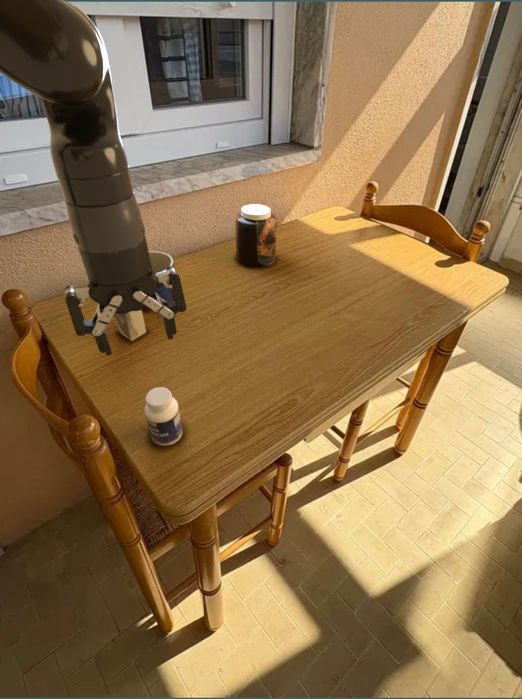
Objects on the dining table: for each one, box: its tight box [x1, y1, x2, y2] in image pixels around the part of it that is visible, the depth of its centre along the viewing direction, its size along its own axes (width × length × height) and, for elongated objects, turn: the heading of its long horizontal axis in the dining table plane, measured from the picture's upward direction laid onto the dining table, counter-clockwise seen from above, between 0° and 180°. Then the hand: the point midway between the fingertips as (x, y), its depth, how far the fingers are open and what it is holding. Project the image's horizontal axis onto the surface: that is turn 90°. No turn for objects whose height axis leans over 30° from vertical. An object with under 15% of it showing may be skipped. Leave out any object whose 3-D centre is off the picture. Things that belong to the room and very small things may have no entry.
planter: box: [143, 250, 175, 312], centre depth 94 cm, size 12×12×11 cm
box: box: [113, 310, 147, 342], centre depth 83 cm, size 5×4×13 cm
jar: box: [235, 203, 277, 269], centre depth 111 cm, size 12×12×15 cm
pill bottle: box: [144, 386, 184, 446], centre depth 63 cm, size 5×5×10 cm
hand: (139, 343), depth 54 cm, fingers open, 8 cm apart
